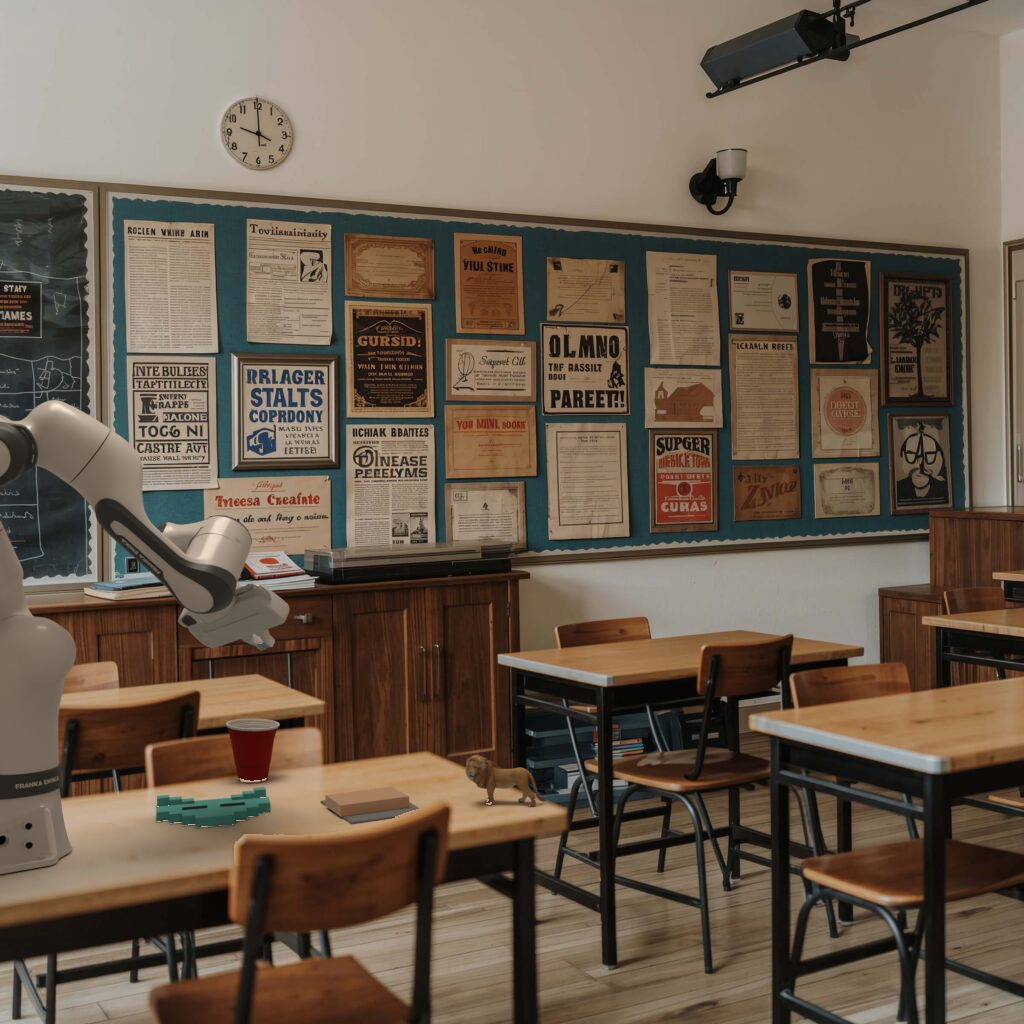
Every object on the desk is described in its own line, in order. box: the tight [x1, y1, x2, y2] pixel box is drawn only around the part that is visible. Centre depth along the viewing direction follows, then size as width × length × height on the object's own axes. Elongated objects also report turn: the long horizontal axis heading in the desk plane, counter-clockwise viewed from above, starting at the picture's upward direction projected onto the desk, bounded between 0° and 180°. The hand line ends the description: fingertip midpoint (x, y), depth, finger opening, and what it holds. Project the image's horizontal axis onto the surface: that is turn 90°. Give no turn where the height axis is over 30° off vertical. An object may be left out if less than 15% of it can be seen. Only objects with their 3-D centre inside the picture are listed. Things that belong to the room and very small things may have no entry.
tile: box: [324, 786, 410, 818], centre depth 225 cm, size 2×9×13 cm
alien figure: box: [155, 786, 271, 828], centre depth 224 cm, size 20×2×20 cm
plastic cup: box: [225, 718, 281, 781], centre depth 250 cm, size 11×11×12 cm
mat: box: [320, 799, 420, 825], centre depth 225 cm, size 14×18×1 cm
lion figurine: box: [465, 754, 546, 807], centre depth 226 cm, size 15×5×9 cm, turn 86°
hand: (268, 646), depth 222 cm, fingers closed
